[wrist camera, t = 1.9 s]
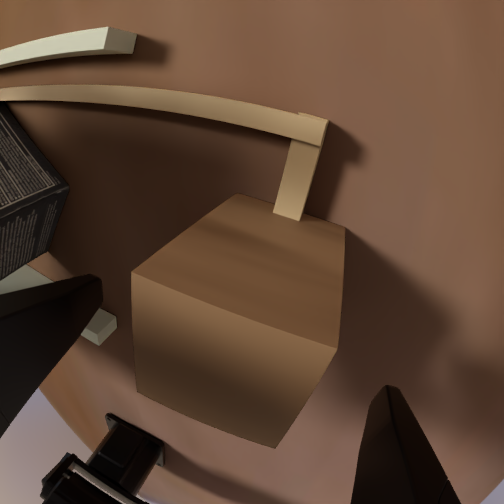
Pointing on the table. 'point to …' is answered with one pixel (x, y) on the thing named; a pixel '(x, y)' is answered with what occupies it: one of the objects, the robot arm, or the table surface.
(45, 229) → the small box
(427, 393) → the table surface
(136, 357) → the wooden block with bar
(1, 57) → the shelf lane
